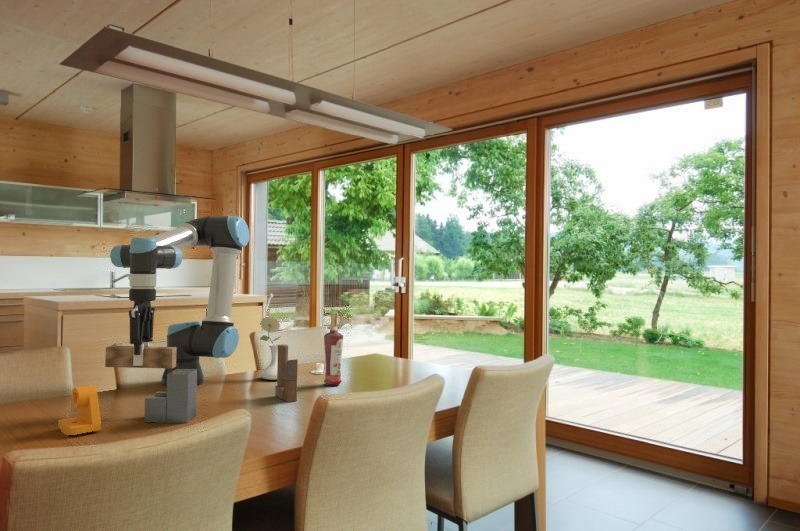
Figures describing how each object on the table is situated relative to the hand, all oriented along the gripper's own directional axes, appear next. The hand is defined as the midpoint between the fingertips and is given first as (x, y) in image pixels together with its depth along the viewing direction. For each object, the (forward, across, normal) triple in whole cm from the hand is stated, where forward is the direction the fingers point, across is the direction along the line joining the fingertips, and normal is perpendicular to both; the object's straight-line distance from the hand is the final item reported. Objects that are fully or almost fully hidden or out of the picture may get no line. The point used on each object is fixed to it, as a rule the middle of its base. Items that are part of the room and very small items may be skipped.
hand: (141, 364), depth 175 cm
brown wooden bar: (+1, 0, 0) cm, 1 cm away
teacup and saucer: (+15, -67, +44) cm, 82 cm away
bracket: (+15, +20, -8) cm, 26 cm away
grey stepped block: (+15, +7, +12) cm, 20 cm away
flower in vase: (+15, -53, +30) cm, 63 cm away
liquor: (+15, -43, +55) cm, 71 cm away
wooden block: (+15, -20, +41) cm, 48 cm away
